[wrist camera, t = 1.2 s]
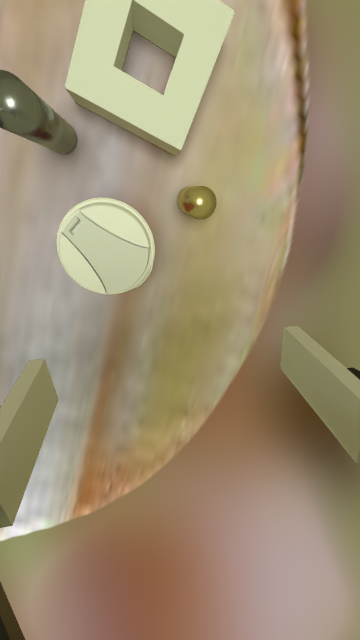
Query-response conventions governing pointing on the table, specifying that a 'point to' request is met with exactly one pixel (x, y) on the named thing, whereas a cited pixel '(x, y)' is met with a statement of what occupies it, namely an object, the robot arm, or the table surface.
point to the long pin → (32, 116)
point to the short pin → (197, 201)
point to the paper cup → (106, 246)
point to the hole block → (130, 94)
